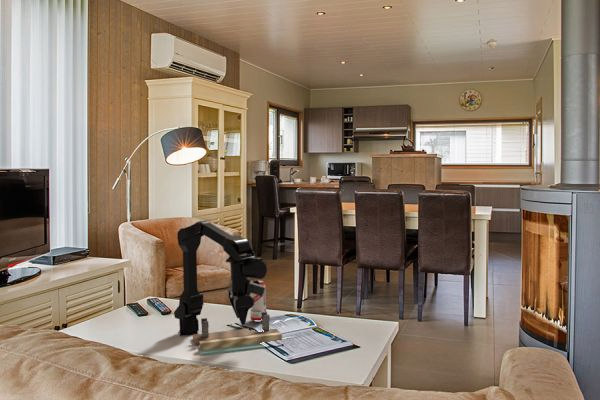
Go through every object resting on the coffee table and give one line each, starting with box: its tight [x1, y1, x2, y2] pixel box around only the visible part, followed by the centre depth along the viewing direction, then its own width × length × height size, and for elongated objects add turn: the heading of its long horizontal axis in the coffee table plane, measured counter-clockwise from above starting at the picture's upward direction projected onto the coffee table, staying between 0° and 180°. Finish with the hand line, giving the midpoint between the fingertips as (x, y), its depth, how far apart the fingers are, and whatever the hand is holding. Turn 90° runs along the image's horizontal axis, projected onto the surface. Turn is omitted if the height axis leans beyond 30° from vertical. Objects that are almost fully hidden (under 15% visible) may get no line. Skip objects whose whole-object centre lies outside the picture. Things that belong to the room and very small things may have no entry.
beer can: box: [249, 279, 267, 322], centre depth 212 cm, size 6×6×16 cm
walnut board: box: [192, 328, 280, 346], centre depth 192 cm, size 30×8×2 cm, turn 106°
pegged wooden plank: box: [200, 311, 271, 338], centre depth 192 cm, size 24×5×6 cm, turn 106°
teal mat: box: [198, 344, 265, 356], centre depth 182 cm, size 28×9×1 cm, turn 106°
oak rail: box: [198, 331, 283, 352], centre depth 182 cm, size 28×2×2 cm, turn 106°
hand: (240, 321), depth 181 cm, fingers open, 9 cm apart
